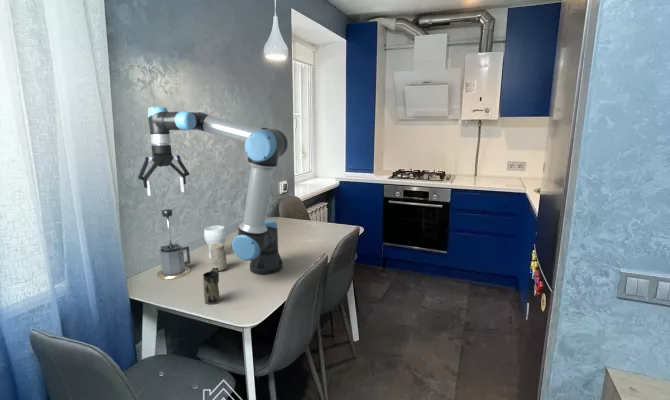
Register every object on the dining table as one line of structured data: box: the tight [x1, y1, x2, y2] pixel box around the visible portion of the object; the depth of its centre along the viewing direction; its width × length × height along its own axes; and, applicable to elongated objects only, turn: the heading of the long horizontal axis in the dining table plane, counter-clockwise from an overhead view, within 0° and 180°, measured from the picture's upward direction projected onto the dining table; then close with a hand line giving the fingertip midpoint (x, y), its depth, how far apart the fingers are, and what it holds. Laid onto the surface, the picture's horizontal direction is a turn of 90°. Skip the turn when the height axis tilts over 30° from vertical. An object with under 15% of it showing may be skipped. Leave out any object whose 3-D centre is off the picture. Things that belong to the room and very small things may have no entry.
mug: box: [202, 267, 221, 305], centre depth 139 cm, size 8×6×12 cm
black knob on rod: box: [161, 208, 177, 252], centre depth 162 cm, size 6×6×19 cm
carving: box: [209, 243, 228, 271], centre depth 168 cm, size 6×8×12 cm
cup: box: [203, 225, 227, 259], centre depth 185 cm, size 11×11×15 cm
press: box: [156, 243, 191, 280], centre depth 165 cm, size 14×14×12 cm
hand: (166, 193), depth 160 cm, fingers open, 13 cm apart
